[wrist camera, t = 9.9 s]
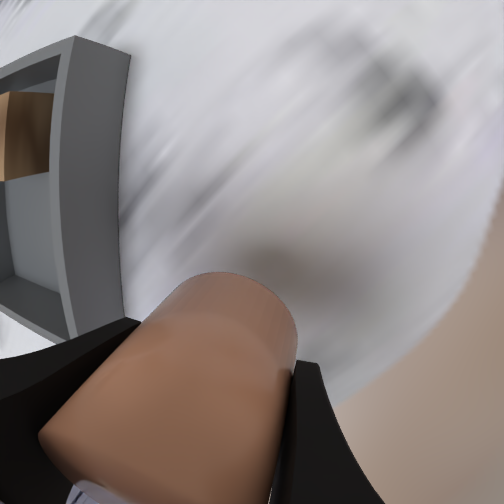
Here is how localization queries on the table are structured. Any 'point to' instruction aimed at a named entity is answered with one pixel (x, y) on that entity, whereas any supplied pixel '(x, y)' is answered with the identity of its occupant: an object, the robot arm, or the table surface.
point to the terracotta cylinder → (184, 401)
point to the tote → (66, 195)
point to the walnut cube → (24, 133)
